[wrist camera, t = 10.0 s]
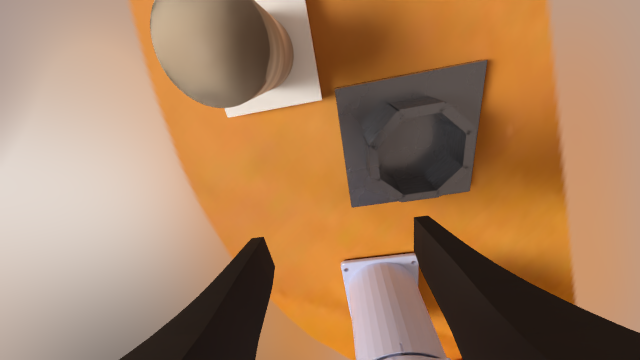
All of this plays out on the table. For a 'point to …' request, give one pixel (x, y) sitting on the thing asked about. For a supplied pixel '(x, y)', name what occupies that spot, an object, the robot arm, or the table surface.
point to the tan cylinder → (220, 49)
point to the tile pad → (303, 80)
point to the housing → (411, 133)
